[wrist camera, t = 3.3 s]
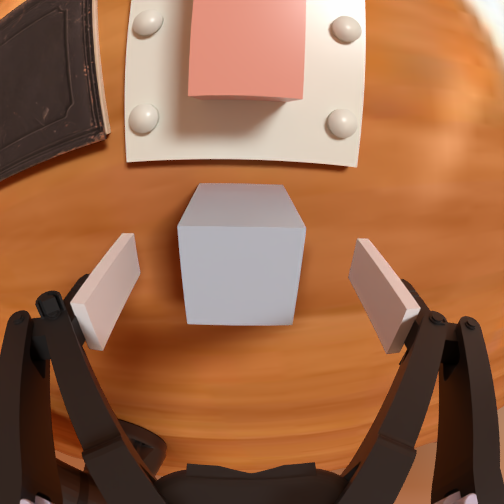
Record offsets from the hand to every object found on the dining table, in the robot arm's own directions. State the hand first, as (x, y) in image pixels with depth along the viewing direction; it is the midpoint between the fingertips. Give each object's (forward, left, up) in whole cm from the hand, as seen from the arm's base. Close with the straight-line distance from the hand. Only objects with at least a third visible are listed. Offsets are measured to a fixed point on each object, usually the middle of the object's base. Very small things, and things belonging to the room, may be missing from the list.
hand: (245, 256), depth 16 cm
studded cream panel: (0, +15, -6) cm, 16 cm away
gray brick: (0, 0, -6) cm, 6 cm away
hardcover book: (-22, +13, -7) cm, 26 cm away
